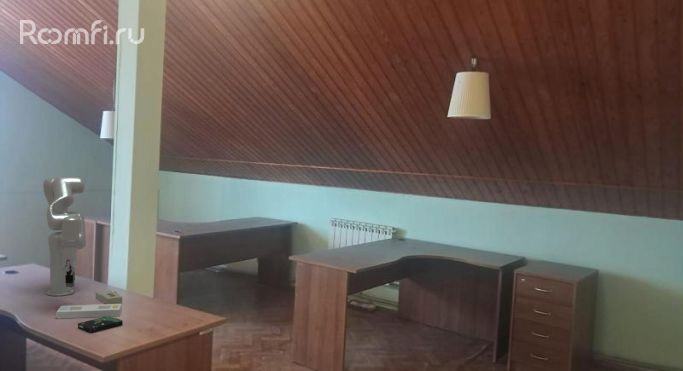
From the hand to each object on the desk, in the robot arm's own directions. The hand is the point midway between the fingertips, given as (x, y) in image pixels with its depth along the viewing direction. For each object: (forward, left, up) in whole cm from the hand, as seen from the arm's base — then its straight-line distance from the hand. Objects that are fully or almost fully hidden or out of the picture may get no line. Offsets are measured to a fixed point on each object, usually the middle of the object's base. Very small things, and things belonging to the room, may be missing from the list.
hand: (70, 281), depth 268 cm
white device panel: (+11, +10, -13) cm, 20 cm away
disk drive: (+30, +17, -14) cm, 37 cm away
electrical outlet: (-12, +16, -13) cm, 24 cm away
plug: (0, 0, -2) cm, 2 cm away
